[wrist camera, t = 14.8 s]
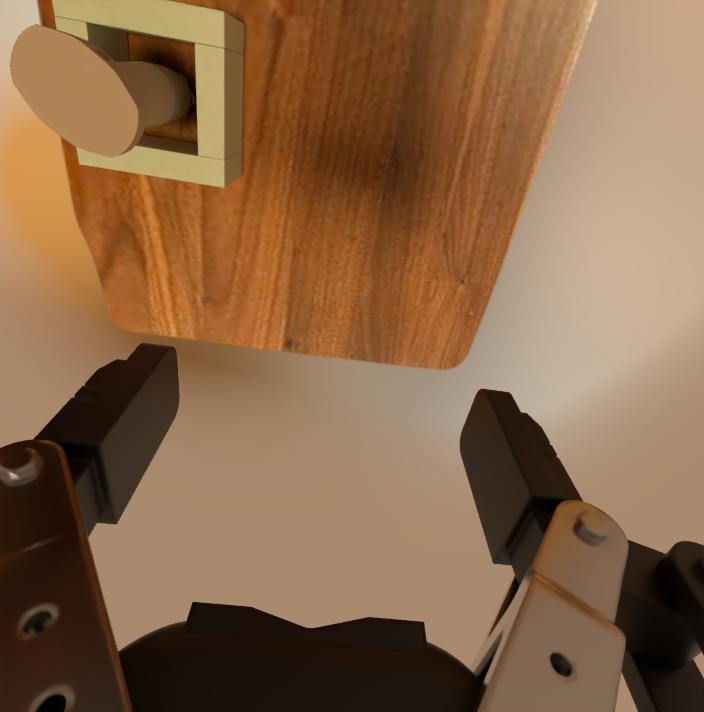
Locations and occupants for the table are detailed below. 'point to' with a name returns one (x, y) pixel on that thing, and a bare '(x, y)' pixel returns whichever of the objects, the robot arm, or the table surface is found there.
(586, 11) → the table surface
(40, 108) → the handle
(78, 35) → the frame
